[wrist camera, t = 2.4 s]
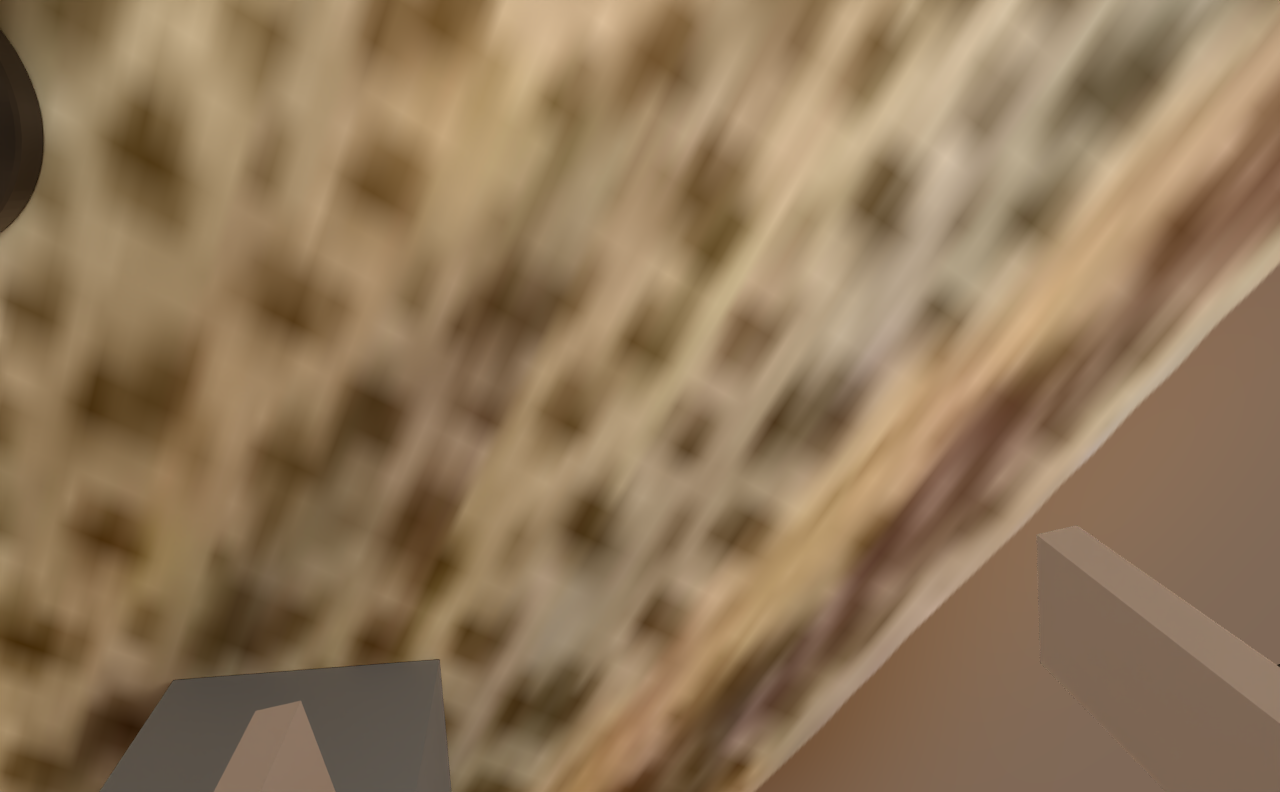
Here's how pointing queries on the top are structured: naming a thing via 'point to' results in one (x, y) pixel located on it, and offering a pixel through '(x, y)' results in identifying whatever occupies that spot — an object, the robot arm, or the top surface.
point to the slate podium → (337, 712)
